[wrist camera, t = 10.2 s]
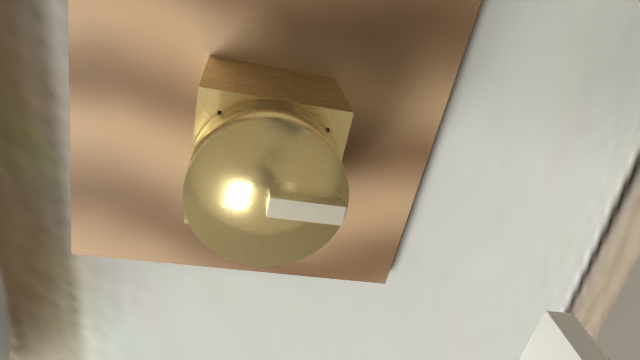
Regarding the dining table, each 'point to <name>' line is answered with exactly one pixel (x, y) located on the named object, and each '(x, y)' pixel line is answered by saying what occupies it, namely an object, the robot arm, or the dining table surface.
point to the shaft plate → (180, 108)
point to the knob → (266, 162)
